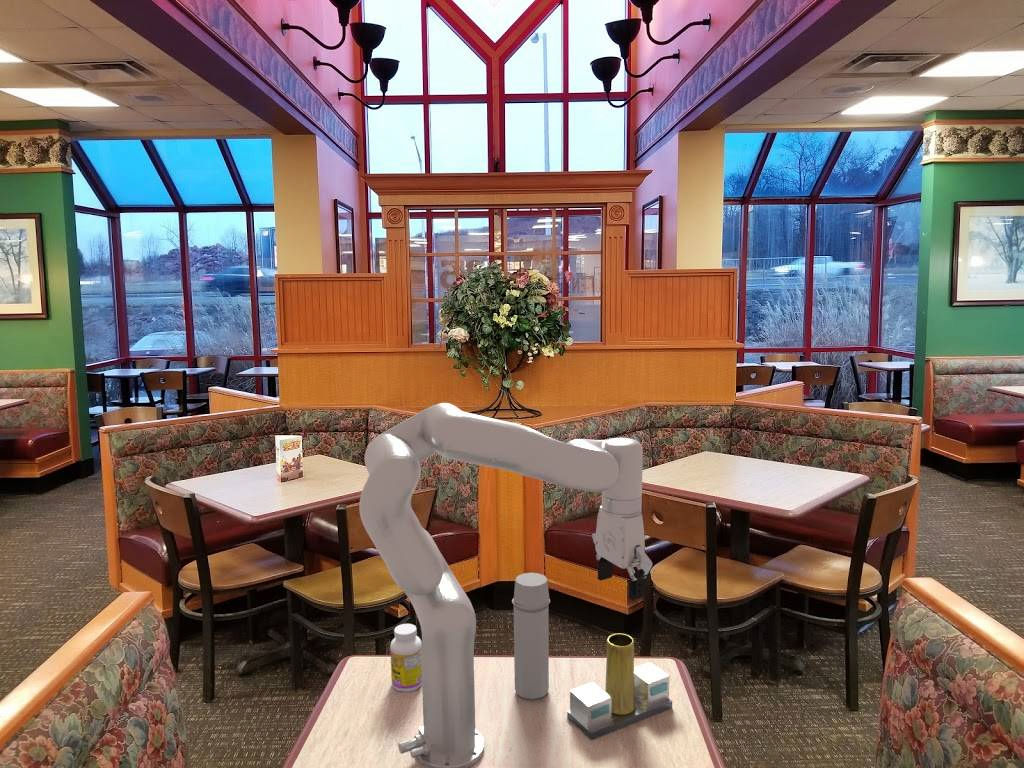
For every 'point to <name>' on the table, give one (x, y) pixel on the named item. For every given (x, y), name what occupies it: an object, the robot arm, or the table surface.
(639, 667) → the rail board
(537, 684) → the water bottle
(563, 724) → the table surface
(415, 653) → the supplement bottle
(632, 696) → the vase
